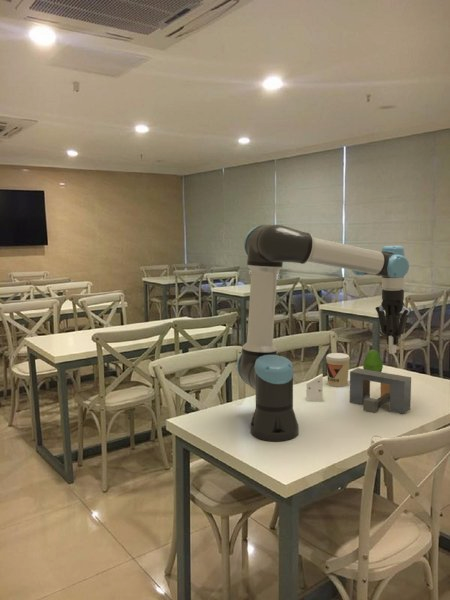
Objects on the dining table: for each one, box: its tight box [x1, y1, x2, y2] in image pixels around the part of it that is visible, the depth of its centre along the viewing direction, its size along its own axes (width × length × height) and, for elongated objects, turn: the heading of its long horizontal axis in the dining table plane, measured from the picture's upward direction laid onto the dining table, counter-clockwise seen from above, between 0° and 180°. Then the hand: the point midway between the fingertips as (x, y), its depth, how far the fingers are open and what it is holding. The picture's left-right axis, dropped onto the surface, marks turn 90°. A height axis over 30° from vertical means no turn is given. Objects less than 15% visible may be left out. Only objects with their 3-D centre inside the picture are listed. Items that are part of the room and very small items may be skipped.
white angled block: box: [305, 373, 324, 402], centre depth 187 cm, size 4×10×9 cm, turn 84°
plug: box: [362, 383, 390, 414], centre depth 181 cm, size 22×7×8 cm, turn 138°
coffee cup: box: [325, 352, 350, 388], centre depth 205 cm, size 9×9×12 cm
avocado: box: [362, 349, 384, 372], centre depth 214 cm, size 8×8×12 cm
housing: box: [349, 367, 412, 415], centre depth 179 cm, size 6×20×12 cm, turn 49°
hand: (392, 352), depth 184 cm, fingers closed
